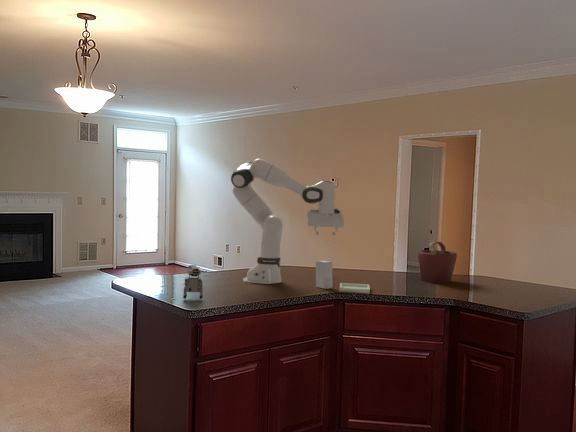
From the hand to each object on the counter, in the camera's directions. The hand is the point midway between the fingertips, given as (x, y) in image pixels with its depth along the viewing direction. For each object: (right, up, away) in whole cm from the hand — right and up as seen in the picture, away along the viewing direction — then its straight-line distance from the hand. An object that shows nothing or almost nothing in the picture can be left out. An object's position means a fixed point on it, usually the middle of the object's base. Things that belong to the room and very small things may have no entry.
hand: (325, 235), depth 292 cm
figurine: (-66, -29, -38) cm, 81 cm away
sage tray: (+16, -30, -4) cm, 34 cm away
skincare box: (-1, -29, +1) cm, 29 cm away
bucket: (+70, -30, +35) cm, 84 cm away
